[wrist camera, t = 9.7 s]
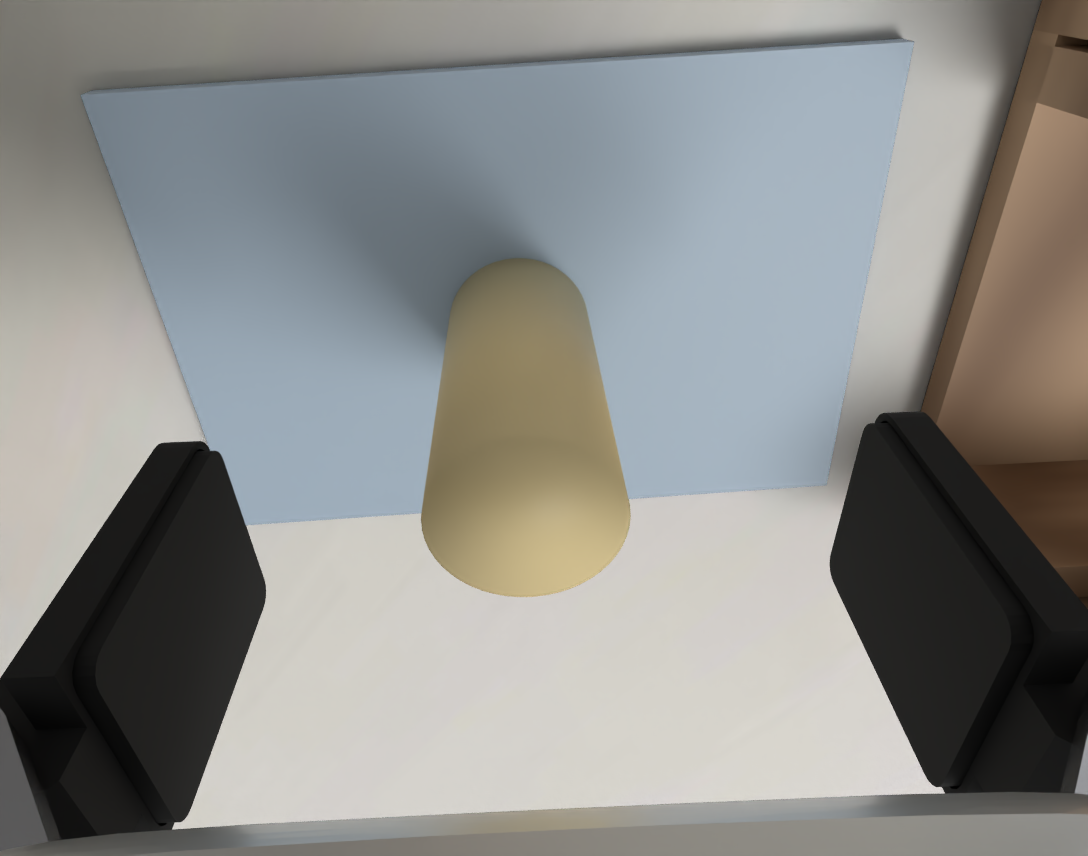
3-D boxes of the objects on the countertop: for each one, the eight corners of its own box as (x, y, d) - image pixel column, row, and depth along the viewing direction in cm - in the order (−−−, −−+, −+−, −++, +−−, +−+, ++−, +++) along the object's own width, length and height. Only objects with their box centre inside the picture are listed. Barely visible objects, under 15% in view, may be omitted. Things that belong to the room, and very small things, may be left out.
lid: (891, 35, 15) (1194, 114, 9) (813, 463, 21) (956, 706, 14) (103, 85, 15) (-215, 205, 8) (248, 502, 21) (129, 765, 14)
